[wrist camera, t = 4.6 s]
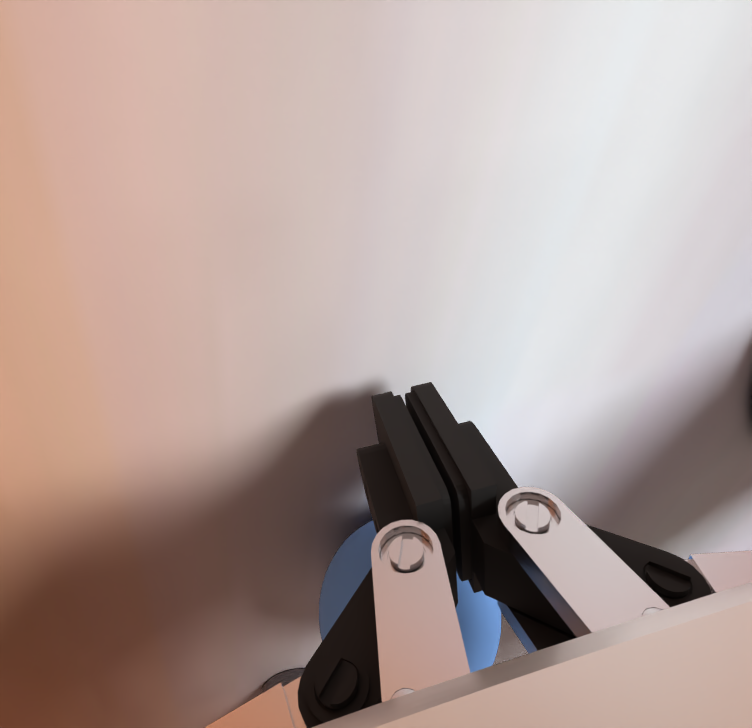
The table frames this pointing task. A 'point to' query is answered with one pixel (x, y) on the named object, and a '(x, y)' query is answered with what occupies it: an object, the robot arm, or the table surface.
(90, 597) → the table surface
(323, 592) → the ball
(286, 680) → the post
